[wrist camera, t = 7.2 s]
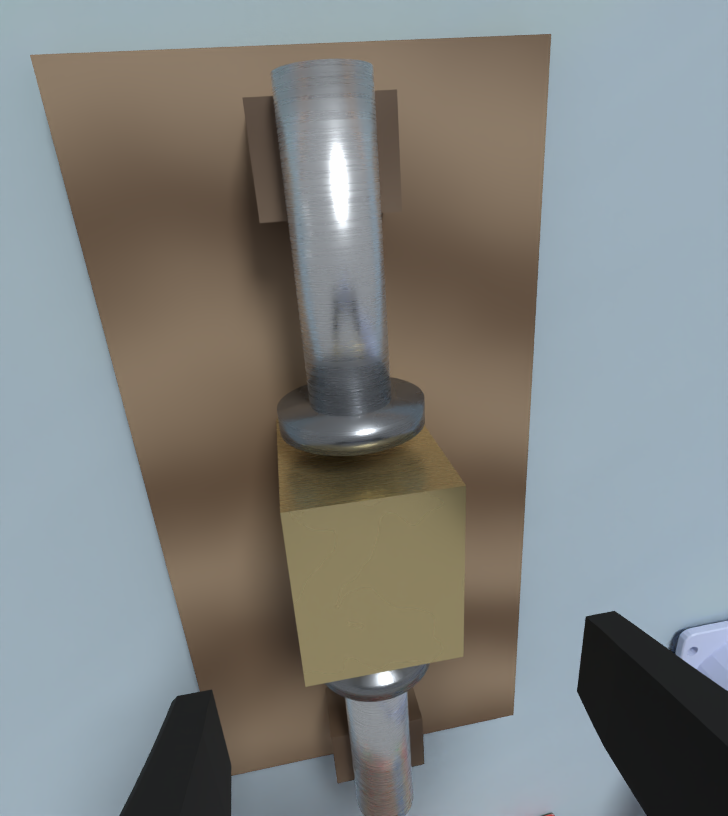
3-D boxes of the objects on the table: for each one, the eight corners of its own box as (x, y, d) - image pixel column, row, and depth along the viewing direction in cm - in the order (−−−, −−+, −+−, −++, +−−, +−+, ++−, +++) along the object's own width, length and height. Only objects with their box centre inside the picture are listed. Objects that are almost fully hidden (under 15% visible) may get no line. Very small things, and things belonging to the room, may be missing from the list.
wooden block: (413, 538, 18) (463, 656, 13) (295, 557, 17) (305, 686, 13) (408, 402, 16) (465, 485, 11) (275, 418, 15) (280, 512, 11)
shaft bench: (503, 694, 23) (535, 761, 20) (225, 752, 22) (219, 834, 19) (532, 44, 14) (598, 7, 11) (47, 65, 12) (-16, 28, 10)
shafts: (420, 735, 21) (449, 837, 17) (328, 754, 20) (341, 864, 17) (392, 84, 12) (439, 42, 9) (233, 92, 12) (220, 52, 8)
